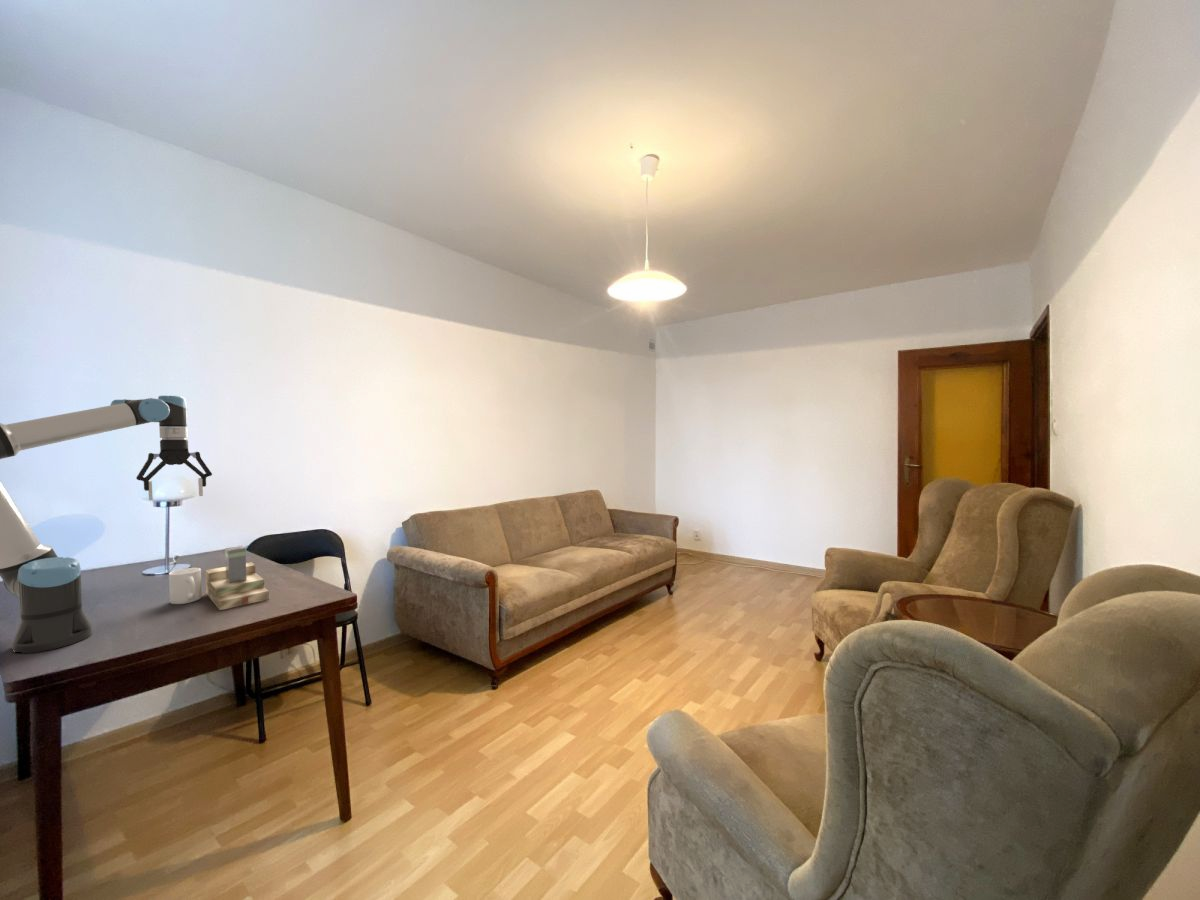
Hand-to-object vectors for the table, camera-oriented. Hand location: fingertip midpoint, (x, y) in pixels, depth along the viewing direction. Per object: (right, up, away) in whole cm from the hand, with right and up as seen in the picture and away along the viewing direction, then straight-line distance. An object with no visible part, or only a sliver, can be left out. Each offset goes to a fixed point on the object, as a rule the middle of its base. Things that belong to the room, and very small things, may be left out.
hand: (176, 497), depth 171 cm
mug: (+6, -37, -2) cm, 38 cm away
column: (+20, -31, +2) cm, 37 cm away
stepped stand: (+20, -37, +3) cm, 42 cm away
